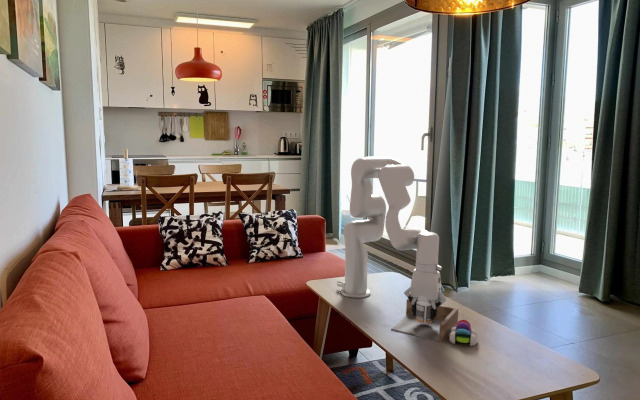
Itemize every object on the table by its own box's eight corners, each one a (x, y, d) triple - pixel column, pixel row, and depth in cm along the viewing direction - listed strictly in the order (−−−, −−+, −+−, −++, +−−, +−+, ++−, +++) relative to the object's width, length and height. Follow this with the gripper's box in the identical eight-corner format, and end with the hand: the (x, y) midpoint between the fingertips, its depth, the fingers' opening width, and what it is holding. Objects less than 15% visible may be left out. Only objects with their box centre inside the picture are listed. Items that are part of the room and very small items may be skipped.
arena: (388, 329, 172) (389, 313, 171) (407, 313, 188) (407, 298, 187) (442, 342, 163) (443, 324, 162) (457, 324, 179) (458, 308, 178)
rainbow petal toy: (476, 338, 167) (478, 317, 166) (475, 350, 157) (477, 328, 157) (450, 334, 169) (452, 314, 168) (448, 345, 160) (449, 324, 159)
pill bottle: (429, 318, 179) (430, 292, 177) (433, 324, 173) (435, 297, 172) (413, 318, 178) (415, 292, 177) (418, 324, 173) (419, 297, 171)
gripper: (453, 268, 172) (450, 318, 174) (407, 261, 180) (404, 308, 183) (447, 273, 165) (444, 325, 168) (399, 265, 174) (397, 314, 176)
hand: (424, 316), depth 175 cm, fingers closed on pill bottle, 5 cm apart
